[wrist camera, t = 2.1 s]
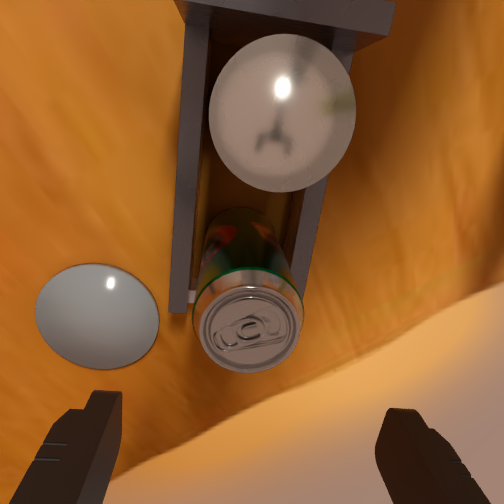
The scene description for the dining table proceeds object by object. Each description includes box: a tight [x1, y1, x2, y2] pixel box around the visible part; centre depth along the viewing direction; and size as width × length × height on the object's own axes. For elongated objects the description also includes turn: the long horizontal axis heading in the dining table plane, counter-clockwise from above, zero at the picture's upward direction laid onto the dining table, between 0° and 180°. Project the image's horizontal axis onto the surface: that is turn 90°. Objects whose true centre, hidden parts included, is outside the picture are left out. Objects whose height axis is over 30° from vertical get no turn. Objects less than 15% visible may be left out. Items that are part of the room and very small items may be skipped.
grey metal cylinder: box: [209, 34, 356, 192], centre depth 18 cm, size 5×5×12 cm
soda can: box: [192, 207, 304, 373], centre depth 21 cm, size 5×5×12 cm
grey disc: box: [35, 263, 160, 369], centre depth 28 cm, size 9×9×1 cm
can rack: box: [168, 0, 397, 314], centre depth 21 cm, size 18×9×8 cm, turn 172°
